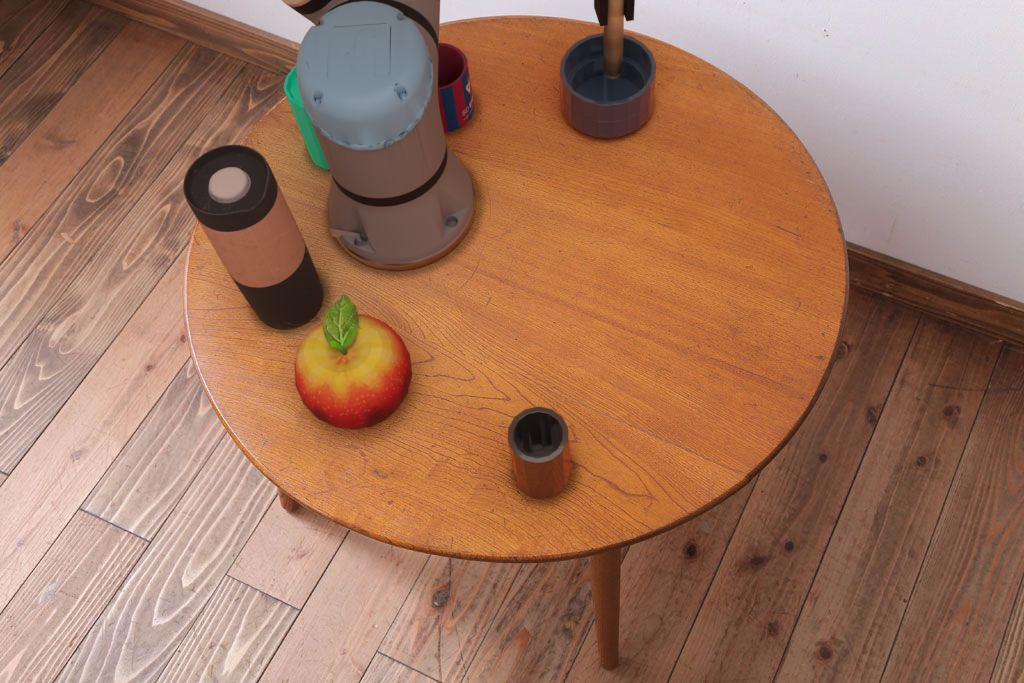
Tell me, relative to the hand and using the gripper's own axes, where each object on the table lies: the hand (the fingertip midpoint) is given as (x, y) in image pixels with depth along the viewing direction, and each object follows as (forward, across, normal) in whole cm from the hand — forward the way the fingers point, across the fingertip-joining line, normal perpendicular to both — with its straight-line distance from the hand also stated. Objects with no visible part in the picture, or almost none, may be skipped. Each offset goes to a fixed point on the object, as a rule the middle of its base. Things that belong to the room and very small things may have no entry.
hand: (613, 13), depth 102 cm
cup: (+13, -20, +4) cm, 24 cm away
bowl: (+12, -1, -1) cm, 12 cm away
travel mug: (+13, -38, -17) cm, 43 cm away
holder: (+12, -16, -41) cm, 46 cm away
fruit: (+13, -32, -29) cm, 45 cm away
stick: (+9, 0, 0) cm, 9 cm away
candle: (+13, -31, +1) cm, 33 cm away
